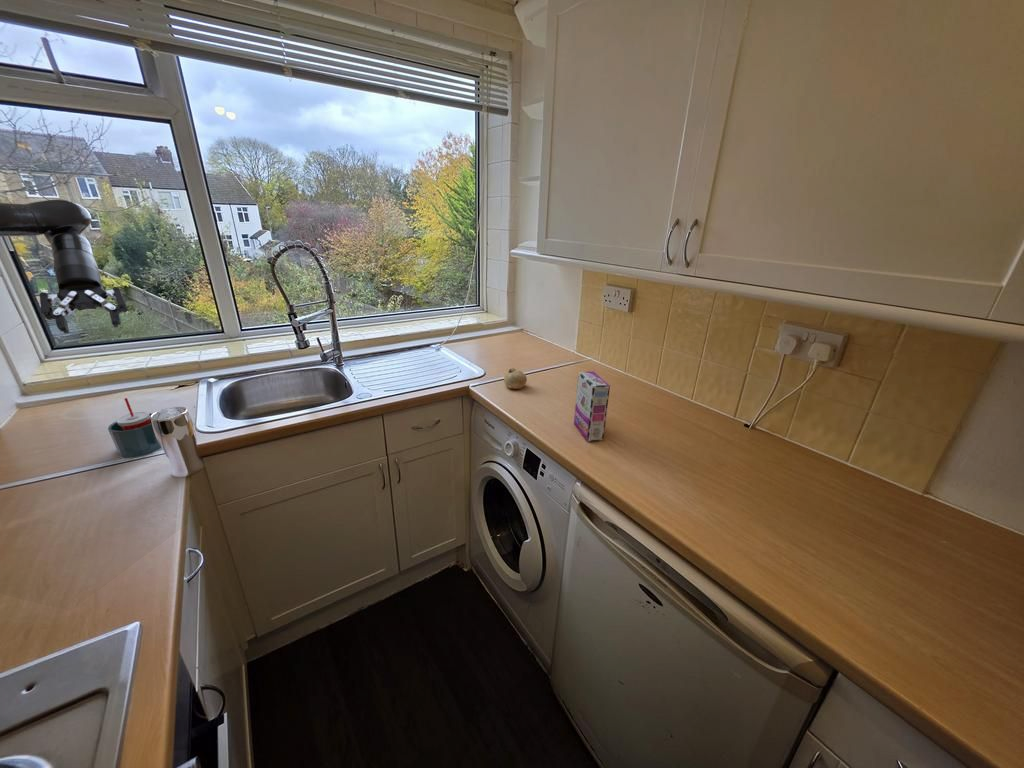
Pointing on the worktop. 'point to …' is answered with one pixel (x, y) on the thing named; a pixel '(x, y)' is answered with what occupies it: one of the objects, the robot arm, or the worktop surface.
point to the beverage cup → (133, 419)
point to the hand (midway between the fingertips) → (91, 328)
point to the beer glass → (177, 440)
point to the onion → (515, 379)
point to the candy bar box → (591, 406)
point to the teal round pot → (134, 440)
